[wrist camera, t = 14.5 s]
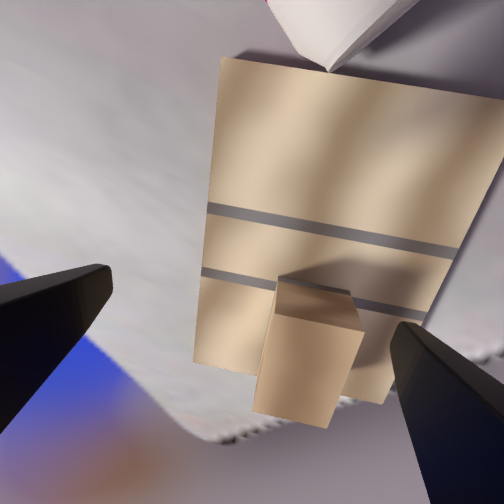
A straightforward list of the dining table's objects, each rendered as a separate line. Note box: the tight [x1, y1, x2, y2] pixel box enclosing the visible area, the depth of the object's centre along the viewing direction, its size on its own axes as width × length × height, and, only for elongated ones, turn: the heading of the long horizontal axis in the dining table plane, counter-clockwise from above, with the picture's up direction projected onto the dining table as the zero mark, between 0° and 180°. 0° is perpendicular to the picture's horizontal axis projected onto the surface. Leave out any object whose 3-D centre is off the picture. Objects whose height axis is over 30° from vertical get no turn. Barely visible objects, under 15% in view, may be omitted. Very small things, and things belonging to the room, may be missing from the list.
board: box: [193, 57, 504, 404], centre depth 19 cm, size 16×22×1 cm
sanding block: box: [253, 276, 365, 428], centre depth 19 cm, size 5×8×4 cm, turn 171°
